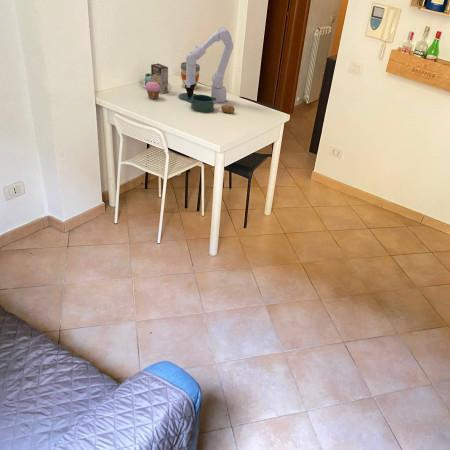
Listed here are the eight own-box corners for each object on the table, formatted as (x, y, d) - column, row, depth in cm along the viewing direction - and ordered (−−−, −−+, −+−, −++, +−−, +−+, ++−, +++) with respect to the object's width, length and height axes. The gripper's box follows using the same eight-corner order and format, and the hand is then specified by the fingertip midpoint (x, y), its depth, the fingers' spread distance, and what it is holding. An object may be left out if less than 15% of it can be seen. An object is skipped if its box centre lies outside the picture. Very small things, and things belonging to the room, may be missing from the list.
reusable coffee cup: (190, 91, 289) (190, 68, 281) (176, 85, 294) (176, 63, 286) (203, 88, 299) (203, 66, 291) (189, 83, 304) (190, 61, 296)
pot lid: (174, 95, 276) (174, 88, 274) (193, 93, 286) (193, 86, 283) (186, 102, 269) (187, 95, 266) (205, 100, 278) (206, 93, 276)
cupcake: (153, 101, 262) (152, 84, 256) (142, 97, 265) (142, 80, 259) (163, 98, 268) (163, 82, 263) (153, 94, 271) (153, 78, 266)
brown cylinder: (234, 112, 269) (235, 105, 266) (233, 114, 265) (234, 107, 262) (221, 110, 268) (222, 103, 265) (220, 112, 264) (220, 105, 262)
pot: (183, 106, 262) (183, 96, 259) (208, 103, 274) (208, 93, 271) (195, 114, 255) (196, 103, 252) (221, 110, 267) (221, 100, 264)
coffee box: (150, 89, 279) (150, 64, 270) (158, 88, 284) (158, 63, 275) (161, 93, 275) (160, 68, 267) (168, 92, 280) (168, 66, 272)
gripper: (186, 70, 275) (186, 91, 282) (181, 76, 263) (181, 98, 270) (197, 72, 276) (197, 93, 283) (193, 78, 264) (192, 99, 271)
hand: (190, 95), depth 277 cm, fingers open, 4 cm apart
